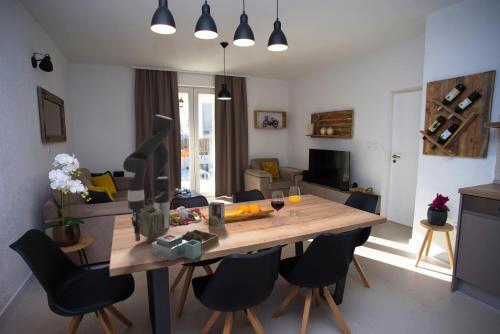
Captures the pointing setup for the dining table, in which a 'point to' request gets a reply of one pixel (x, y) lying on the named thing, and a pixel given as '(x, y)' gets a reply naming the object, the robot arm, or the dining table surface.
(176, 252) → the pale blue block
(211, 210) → the coffee box
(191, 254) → the pen cup
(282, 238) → the dining table surface
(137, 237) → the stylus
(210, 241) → the frame
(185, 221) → the food tray
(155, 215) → the green backpack
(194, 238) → the seashell
